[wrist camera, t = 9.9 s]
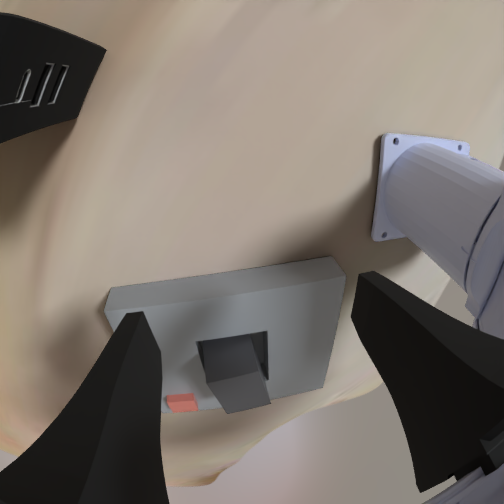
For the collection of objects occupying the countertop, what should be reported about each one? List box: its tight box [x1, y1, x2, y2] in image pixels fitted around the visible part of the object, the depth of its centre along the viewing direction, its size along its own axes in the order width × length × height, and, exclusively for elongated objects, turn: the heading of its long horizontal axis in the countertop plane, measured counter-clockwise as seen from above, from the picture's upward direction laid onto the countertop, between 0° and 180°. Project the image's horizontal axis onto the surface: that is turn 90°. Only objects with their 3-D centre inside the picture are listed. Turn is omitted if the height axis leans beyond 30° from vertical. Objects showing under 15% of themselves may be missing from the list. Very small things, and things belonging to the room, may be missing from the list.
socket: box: [104, 256, 346, 413], centre depth 22 cm, size 16×14×3 cm
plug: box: [203, 334, 271, 414], centre depth 21 cm, size 4×5×5 cm
